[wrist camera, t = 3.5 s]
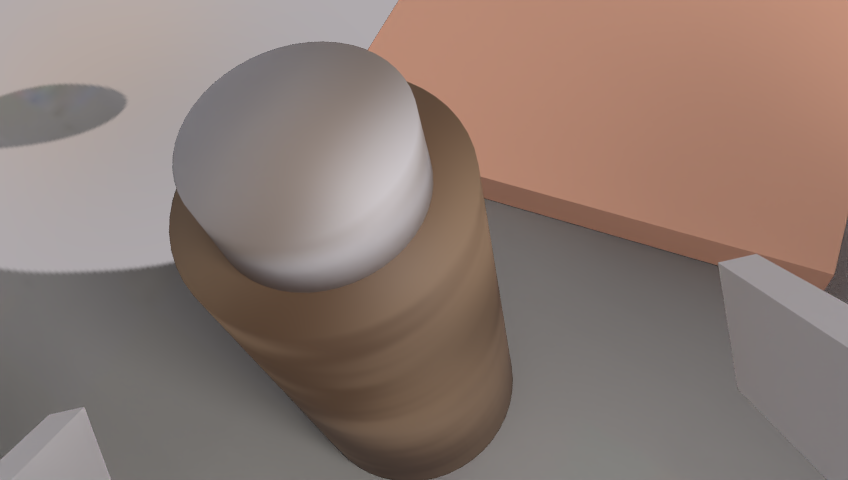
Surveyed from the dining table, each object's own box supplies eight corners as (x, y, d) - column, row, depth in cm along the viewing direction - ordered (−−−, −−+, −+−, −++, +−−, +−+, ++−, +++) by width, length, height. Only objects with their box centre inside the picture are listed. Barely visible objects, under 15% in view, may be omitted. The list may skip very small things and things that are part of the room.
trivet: (326, 152, 33) (316, 131, 31) (469, -82, 39) (466, -108, 38) (821, 295, 26) (834, 275, 25) (893, -18, 32) (907, -46, 31)
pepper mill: (283, 434, 26) (55, 227, 15) (371, 269, 29) (239, -16, 17) (465, 515, 24) (369, 347, 12) (541, 327, 27) (523, 44, 15)
